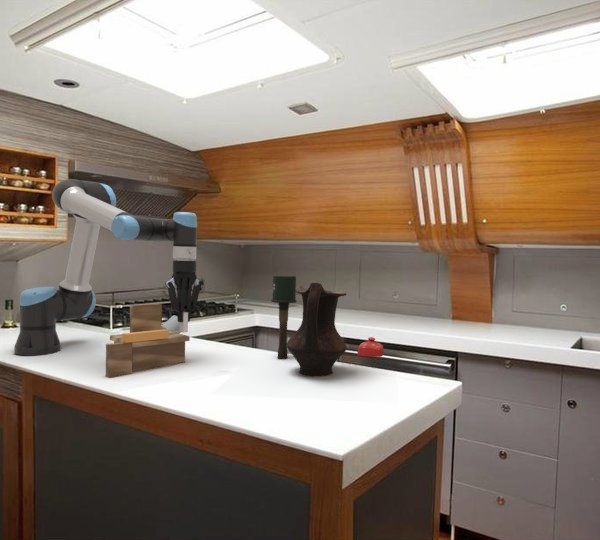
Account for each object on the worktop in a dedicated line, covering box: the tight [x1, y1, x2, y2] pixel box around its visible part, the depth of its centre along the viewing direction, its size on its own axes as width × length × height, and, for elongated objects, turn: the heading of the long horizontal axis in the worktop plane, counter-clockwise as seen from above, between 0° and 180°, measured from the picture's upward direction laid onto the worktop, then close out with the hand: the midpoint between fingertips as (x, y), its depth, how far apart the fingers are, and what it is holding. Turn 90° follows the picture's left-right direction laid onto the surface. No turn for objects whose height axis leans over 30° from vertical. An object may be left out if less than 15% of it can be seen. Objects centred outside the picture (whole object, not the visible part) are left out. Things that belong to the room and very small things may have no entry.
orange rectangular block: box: [122, 329, 169, 343], centre depth 155 cm, size 2×14×2 cm, turn 133°
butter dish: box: [356, 336, 385, 358], centre depth 180 cm, size 12×12×8 cm
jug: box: [287, 281, 347, 378], centre depth 151 cm, size 21×18×30 cm
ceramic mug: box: [162, 315, 182, 334], centre depth 210 cm, size 11×8×8 cm
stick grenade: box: [270, 274, 297, 360], centre depth 171 cm, size 8×9×30 cm
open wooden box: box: [105, 341, 186, 379], centre depth 161 cm, size 16×26×10 cm, turn 133°
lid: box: [109, 303, 190, 348], centre depth 164 cm, size 16×20×12 cm
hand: (183, 331), depth 164 cm, fingers closed
